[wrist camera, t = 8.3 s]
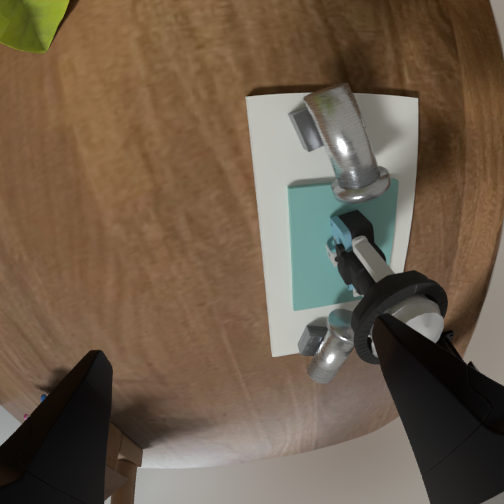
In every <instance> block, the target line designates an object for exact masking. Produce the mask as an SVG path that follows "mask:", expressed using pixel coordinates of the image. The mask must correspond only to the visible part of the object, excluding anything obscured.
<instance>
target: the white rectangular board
mask: <svg viewBox="0 0 504 504" xmlns="http://www.w3.org/2000/svg"><path fill="white" fill-rule="evenodd" d="M308 94H311V93H288V94H271V95H259V96H248V97H245V98H246V106H247V115H248V124H249V133H250V143H251V152H252V161H253V170H254V180H255V189H256V199H257V208H258V218H259V228H260V238H261V248H262V258H263V268H264V278H265V289H266V299H267V310H268V320H269V331H270V342H271V352H272V357H276V356H283V355H289V354H295V353H300V352H299V349H298V345H297V344H298V342H299V340H300V338H301V336H302V333H303V331H304V329H305V327H306V325H308V326H319V327H327V326H326V321H327V318H328V316H329V314H330V313H331V311H333V310H335V309H346V310H350V311H352V312H353V310H354V309H355V307H356V306H357V305H358V303H359V302H360V301H361V299H362V298H363V296H362V295H360V296H357V297H354V296H353V290H350V291H349V289H348V287H347V285H346V284H345V283H344V281H343V279H342V277H341V276H340V274H339V272H338V267H337V266H336V267H334V265H333V264H332V262H331V261H330V259H329V257H328V254H327V249H326V244H327V245H328V246H329V248H330V249H331V251H332V253H334V252H335V246H334V240H333V235H332V229H331V225H330V221H329V218H331V217H334V216H338V215H341V214H345V213H348V212H351V211H354V210H359V211H360V212H361V213H362V214H363V215H364V216H365V217H366V218H367V219H368V220H369V221H370V222H371V223H372V225H373V230H374V241H375V244H376V245H377V246H378V247H379V248H380V249H381V250H382V252H383V253H384V255H385V257H386V263H387V264H388V266H389V267H390V268H391V269H392V271H393V272H394V273H402V272H403V270H404V265H405V259H406V254H407V248H408V242H409V235H410V228H411V221H412V213H413V205H414V195H415V184H416V171H417V154H418V98H412V97H403V96H393V95H381V94H364V93H353V94H354V96H355V99H356V101H357V104H358V107H359V109H360V112H361V114H362V117H363V120H364V123H365V125H366V130H367V133H368V136H369V139H370V142H371V145H372V148H373V151H374V154H375V157H376V161H377V164H378V166H382V167H384V168H386V169H387V170H388V172H389V176H390V180H391V185H390V187H389V189H388V190H387V191H386V192H385V193H384V194H382V195H381V196H379V197H377V198H375V199H372V200H370V201H366V202H362V203H357V204H345V203H341V202H338V201H337V200H336V199H335V197H334V194H333V192H332V189H331V185H332V183H333V181H334V180H335V179H336V176H335V173H334V171H333V168H332V165H331V163H330V160H329V158H328V155H327V153H326V150H325V148H324V146H322V147H320V148H318V149H315V150H313V151H311V152H308V151H306V150H305V149H303V147H302V145H301V142H300V140H299V138H298V136H297V133H296V131H295V129H294V127H293V125H292V122H291V120H290V118H289V116H288V114H289V113H292V112H294V111H296V110H299V109H301V108H304V107H306V104H305V101H304V99H303V97H305V96H306V95H308ZM329 254H330V253H329ZM356 293H357V291H356ZM368 337H370V335H369V336H368Z"/></svg>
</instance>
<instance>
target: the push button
mask: <svg viewBox="0 0 504 504" xmlns="http://www.w3.org/2000/svg"><path fill="white" fill-rule="evenodd" d="M329 221H330V225H331V229H332V235H333V240H334V246H335V252H334V253H332V251H331V249H330V248H329V246H328V245H327V244H326V249H327V254H328V257H329V259H330V261H331V262H332V264H333V265H334V267H336V266H337V267H338V272H339V274H340V276H341V277H342V279H343V281H344V283H345V284H346V285H347V287H348V289H349V291H350V290H353V296H354V297H357V296H360V295H362V296H363V298H362V299H361V301H360V302H359V303H358V305H357V306H356V307H355V309H354V310H353V313H352V319H351V328H352V330H353V332H354V340H353V341H354V347H355V349H356V352H357V354H358V356H359V357H360V358H361V359H362V360H363V361H365V362H367V363H371V364H380V363H379V359H378V356H377V353H376V350H375V346H374V343H373V340H372V329H373V325H374V320H375V317H376V316H377V315H379V314H383V313H389V314H391V315H392V316H394V317H396V318H397V319H399V320H400V321H402V322H403V323H405V324H407V325H408V326H410V327H411V328H413V329H414V330H416V331H417V332H419V333H421V334H422V335H424V336H425V337H427V338H428V339H430V340H431V341H433V342H434V343H436V342H437V341H438V339H439V337H440V335H441V333H442V330H443V328H444V326H443V319H444V317H445V314H446V311H447V306H448V300H447V295H446V293H445V291H444V290H443V288H442V287H441V286H440V285H439V284H438V283H437V282H435V281H433V280H430V279H428V278H427V277H426V276H425V275H423V274H421V273H419V272H417V271H415V270H413V271H407V272H402V273H394V272H393V271H392V269H391V268H390V267H389V266H388V264H387V263H386V257H385V255H384V253H383V252H382V250H381V249H380V248H379V247H378V246H377V245H376V244H375V241H374V230H373V225H372V223H371V222H370V221H369V220H368V219H367V218H366V217H365V216H364V215H363V214H362V213H361V212H360V211H359V210H354V211H351V212H348V213H345V214H341V215H338V216H334V217H331V218H329ZM329 253H330V254H329ZM356 291H357V293H356ZM424 293H425V294H424ZM368 334H369V335H370V337H368Z"/></svg>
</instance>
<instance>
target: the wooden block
mask: <svg viewBox="0 0 504 504" xmlns="http://www.w3.org/2000/svg"><path fill="white" fill-rule="evenodd" d="M142 455H143V450H142V449H141V448H139V447H138V446H137V445H136V444H135V443H133V442H132V441H131V440H130V439H129V438H128V437H126V436H125V435H124V434H123V433H122V432H121V431H120V430H119V429H118V428H117V427H116V426H115V425H114V424H112V423H111V422H110V424H109V433H108V443H107V455H106V469H105V491H104V501H105V500H106V499H107V498H108V497H110V496H111V504H134V494H135V481H136V471H137V467H141V464H142Z"/></svg>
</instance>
